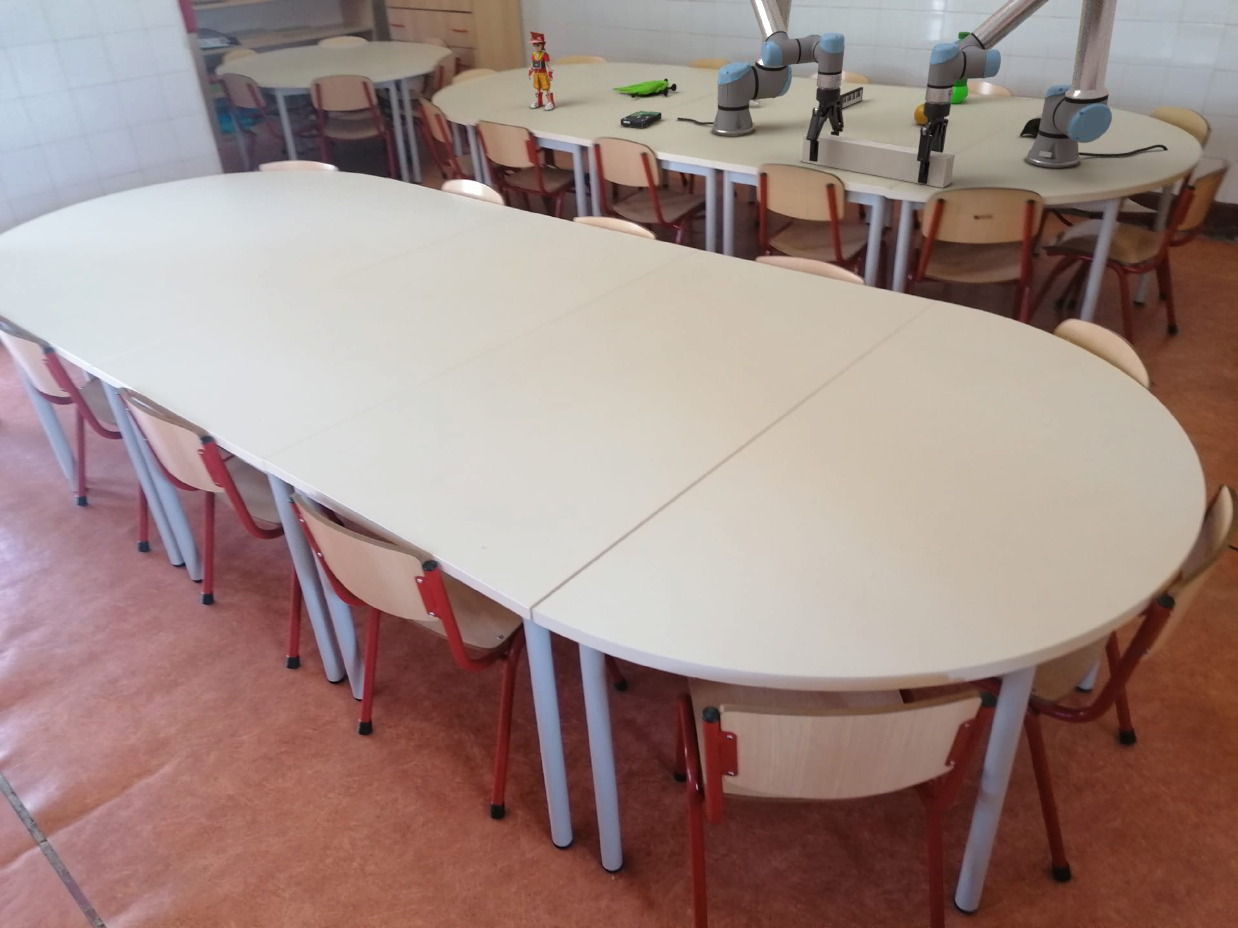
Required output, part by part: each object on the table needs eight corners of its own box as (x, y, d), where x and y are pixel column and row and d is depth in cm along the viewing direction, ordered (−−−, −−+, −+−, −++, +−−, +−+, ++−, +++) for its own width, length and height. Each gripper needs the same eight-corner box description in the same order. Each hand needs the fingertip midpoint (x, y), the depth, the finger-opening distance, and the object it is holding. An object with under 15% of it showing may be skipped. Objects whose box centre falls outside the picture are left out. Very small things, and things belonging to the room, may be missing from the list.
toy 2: (686, 85, 398) (631, 84, 414) (685, 72, 395) (629, 72, 411) (651, 104, 381) (596, 103, 397) (650, 92, 378) (594, 91, 394)
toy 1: (525, 109, 381) (517, 32, 364) (534, 104, 388) (527, 28, 371) (550, 110, 377) (543, 32, 360) (559, 105, 384) (553, 28, 367)
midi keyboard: (840, 109, 354) (841, 96, 351) (837, 109, 355) (838, 96, 352) (862, 100, 364) (863, 87, 361) (859, 100, 365) (860, 87, 362)
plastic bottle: (973, 101, 354) (984, 32, 339) (955, 106, 349) (966, 36, 335) (952, 97, 361) (962, 29, 346) (934, 102, 356) (944, 33, 342)
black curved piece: (1048, 107, 329) (1073, 90, 321) (1062, 128, 329) (1087, 111, 321) (1015, 130, 312) (1041, 112, 303) (1030, 152, 312) (1055, 134, 304)
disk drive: (643, 129, 346) (662, 119, 356) (642, 121, 344) (661, 112, 354) (620, 126, 351) (639, 117, 361) (620, 119, 349) (639, 109, 359)
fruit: (909, 116, 327) (923, 96, 324) (910, 119, 335) (924, 100, 332) (928, 129, 326) (942, 109, 323) (929, 132, 334) (943, 112, 331)
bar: (801, 161, 301) (803, 135, 296) (810, 158, 304) (811, 131, 299) (942, 188, 272) (947, 159, 267) (950, 183, 275) (954, 154, 270)
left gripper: (818, 96, 276) (813, 167, 289) (858, 81, 290) (852, 149, 303) (797, 93, 281) (793, 163, 293) (838, 78, 295) (832, 146, 307)
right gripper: (935, 110, 257) (924, 190, 270) (963, 96, 267) (951, 174, 280) (911, 106, 261) (901, 186, 274) (940, 93, 272) (929, 171, 285)
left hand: (823, 156), depth 298 cm, fingers open, 12 cm apart
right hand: (926, 180), depth 277 cm, fingers closed on bar, 5 cm apart
